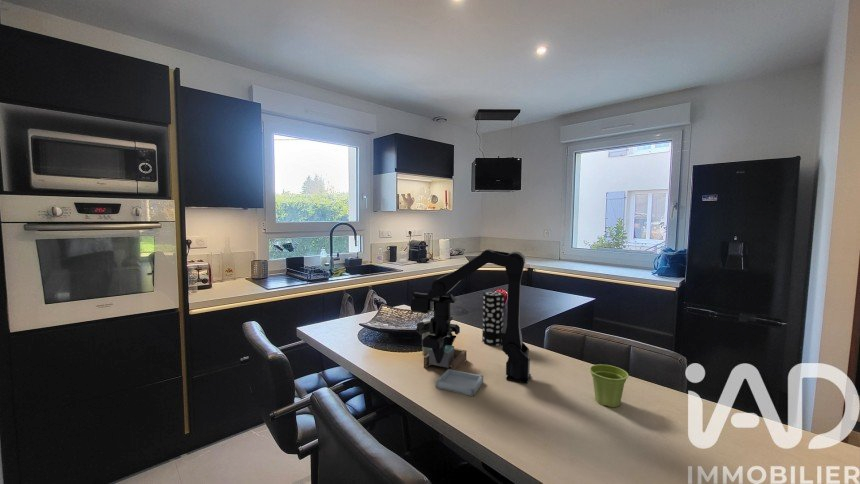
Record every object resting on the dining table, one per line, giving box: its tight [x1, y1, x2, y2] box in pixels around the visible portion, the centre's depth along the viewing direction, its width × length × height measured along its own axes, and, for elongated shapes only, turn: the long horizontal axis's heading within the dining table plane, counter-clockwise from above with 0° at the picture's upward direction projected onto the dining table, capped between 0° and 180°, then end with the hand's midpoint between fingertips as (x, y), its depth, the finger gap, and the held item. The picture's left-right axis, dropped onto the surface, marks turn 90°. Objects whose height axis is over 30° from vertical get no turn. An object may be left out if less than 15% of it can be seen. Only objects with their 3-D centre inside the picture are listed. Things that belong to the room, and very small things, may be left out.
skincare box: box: [421, 318, 435, 355], centre depth 131 cm, size 6×4×12 cm
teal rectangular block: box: [429, 345, 455, 369], centre depth 118 cm, size 7×5×6 cm
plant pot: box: [589, 363, 629, 408], centre depth 96 cm, size 9×9×9 cm
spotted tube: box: [481, 291, 505, 347], centre depth 142 cm, size 8×8×20 cm
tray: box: [435, 368, 484, 397], centre depth 106 cm, size 12×10×2 cm
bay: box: [423, 347, 467, 371], centre depth 121 cm, size 11×12×4 cm
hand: (441, 360), depth 118 cm, fingers closed on teal rectangular block, 5 cm apart
